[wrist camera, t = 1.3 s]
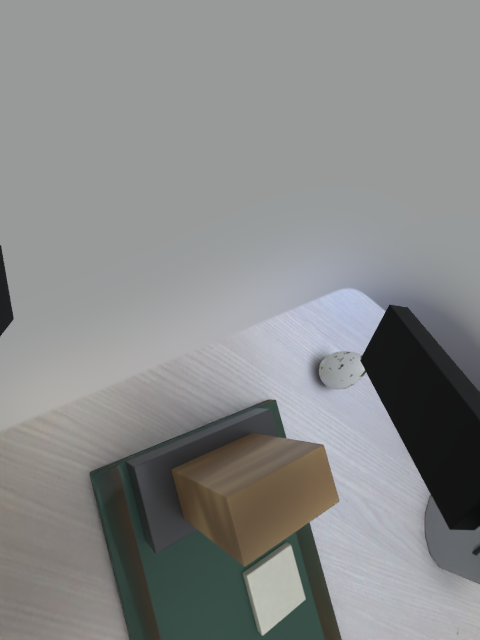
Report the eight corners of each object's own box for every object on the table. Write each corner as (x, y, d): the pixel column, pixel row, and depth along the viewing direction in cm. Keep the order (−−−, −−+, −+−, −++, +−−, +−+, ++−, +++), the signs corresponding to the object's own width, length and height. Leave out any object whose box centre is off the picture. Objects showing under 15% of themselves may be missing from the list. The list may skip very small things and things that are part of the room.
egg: (310, 388, 31) (354, 387, 27) (310, 352, 32) (352, 346, 28) (336, 390, 33) (382, 389, 29) (335, 356, 34) (380, 350, 29)
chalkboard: (89, 472, 22) (91, 475, 21) (268, 399, 29) (276, 399, 28) (198, 921, 20) (206, 944, 19) (357, 724, 28) (368, 734, 27)
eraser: (125, 461, 22) (177, 496, 14) (255, 407, 27) (344, 412, 19) (145, 542, 22) (209, 622, 14) (273, 472, 27) (370, 502, 19)
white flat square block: (242, 572, 24) (246, 576, 24) (286, 541, 26) (291, 544, 26) (257, 631, 24) (262, 636, 23) (300, 595, 26) (306, 599, 26)
